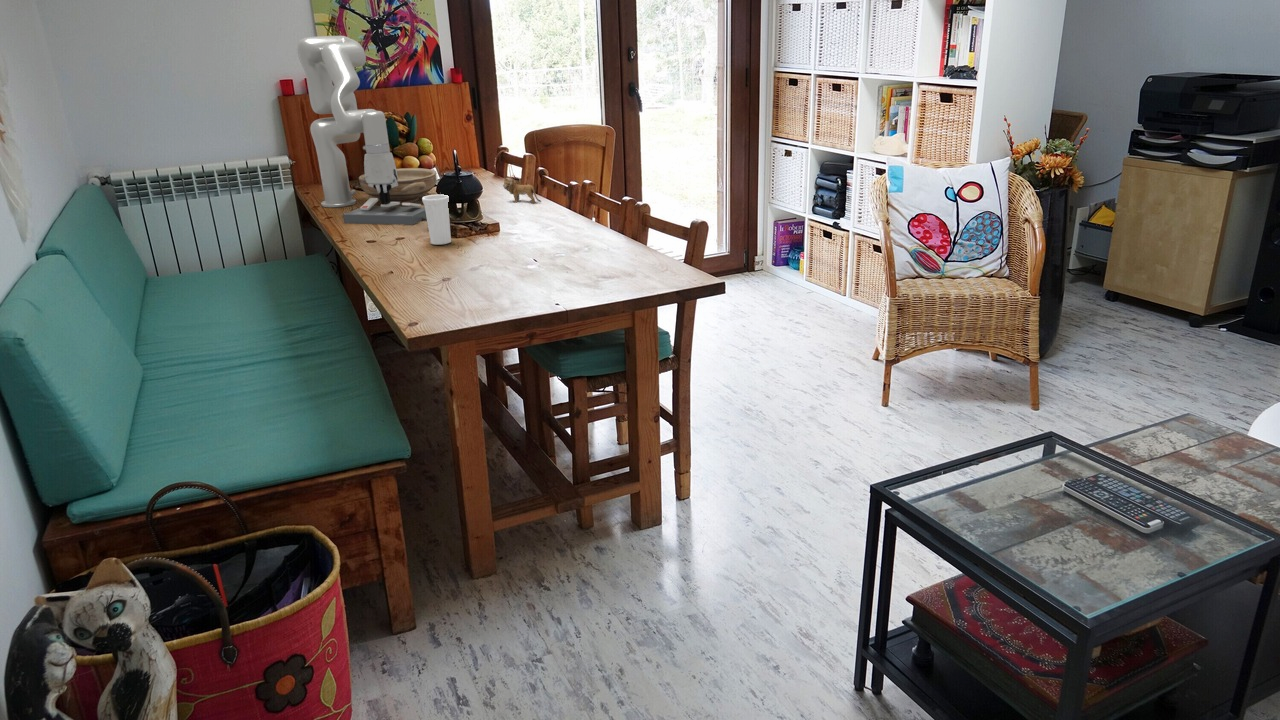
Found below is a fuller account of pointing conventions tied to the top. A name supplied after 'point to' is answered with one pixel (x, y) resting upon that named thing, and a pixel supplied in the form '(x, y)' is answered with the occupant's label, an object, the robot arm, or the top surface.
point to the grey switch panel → (386, 215)
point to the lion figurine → (519, 189)
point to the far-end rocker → (369, 204)
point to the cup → (438, 218)
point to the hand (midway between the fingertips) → (385, 203)
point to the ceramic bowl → (406, 185)
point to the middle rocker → (390, 204)
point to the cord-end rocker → (411, 204)
